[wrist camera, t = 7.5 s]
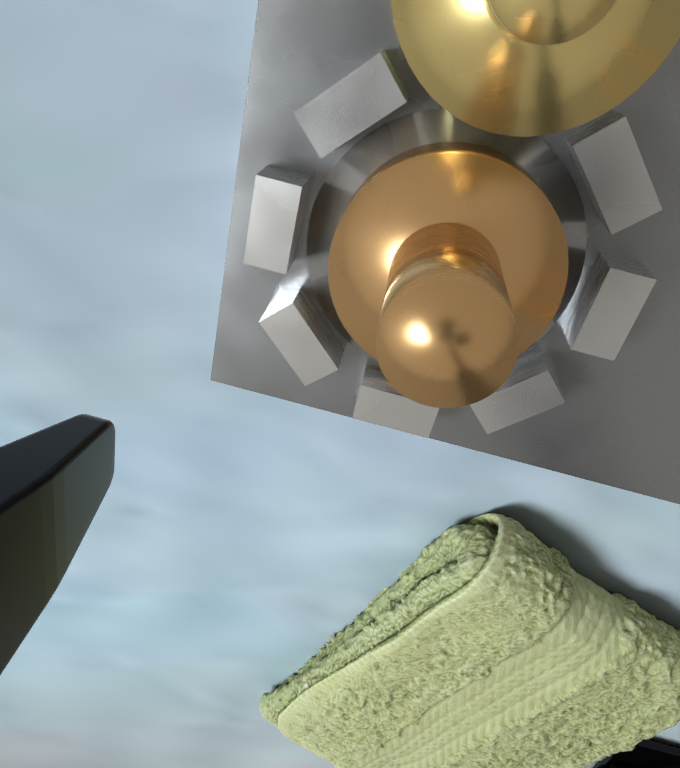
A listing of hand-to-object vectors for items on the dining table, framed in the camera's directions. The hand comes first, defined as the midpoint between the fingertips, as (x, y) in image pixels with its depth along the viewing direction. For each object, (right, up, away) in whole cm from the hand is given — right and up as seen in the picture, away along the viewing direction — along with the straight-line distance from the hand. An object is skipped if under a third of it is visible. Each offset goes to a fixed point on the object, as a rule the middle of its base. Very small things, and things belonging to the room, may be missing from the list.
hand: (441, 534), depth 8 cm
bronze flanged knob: (+2, +5, +9) cm, 11 cm away
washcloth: (+4, -11, +20) cm, 24 cm away
